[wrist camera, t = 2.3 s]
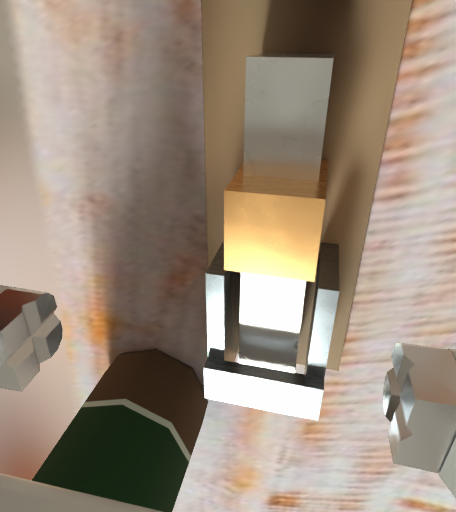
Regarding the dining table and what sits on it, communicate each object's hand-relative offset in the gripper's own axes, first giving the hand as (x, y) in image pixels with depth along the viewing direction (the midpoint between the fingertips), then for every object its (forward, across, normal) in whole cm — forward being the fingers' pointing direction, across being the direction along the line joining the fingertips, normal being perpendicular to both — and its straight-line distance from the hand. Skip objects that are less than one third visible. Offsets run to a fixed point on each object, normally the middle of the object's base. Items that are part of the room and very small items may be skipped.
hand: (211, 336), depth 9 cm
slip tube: (+10, -1, +1) cm, 10 cm away
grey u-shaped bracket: (+11, -1, +6) cm, 13 cm away
